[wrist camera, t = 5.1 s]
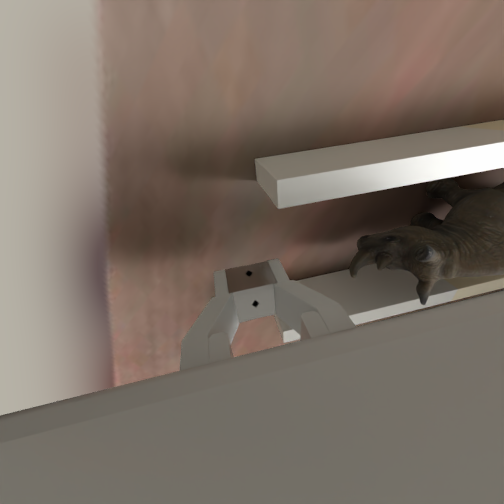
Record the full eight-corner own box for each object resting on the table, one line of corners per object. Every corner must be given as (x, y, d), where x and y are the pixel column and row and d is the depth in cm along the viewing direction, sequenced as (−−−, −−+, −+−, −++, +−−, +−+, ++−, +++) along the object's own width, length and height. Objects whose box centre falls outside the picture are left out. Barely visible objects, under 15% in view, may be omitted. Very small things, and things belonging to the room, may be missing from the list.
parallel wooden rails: (254, 158, 10) (276, 180, 7) (626, 100, 12) (756, 99, 9) (267, 297, 15) (283, 342, 12) (528, 239, 17) (593, 265, 14)
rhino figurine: (319, 212, 12) (399, 282, 8) (549, 129, 12) (777, 145, 8) (326, 266, 15) (389, 346, 10) (519, 196, 15) (678, 241, 10)
